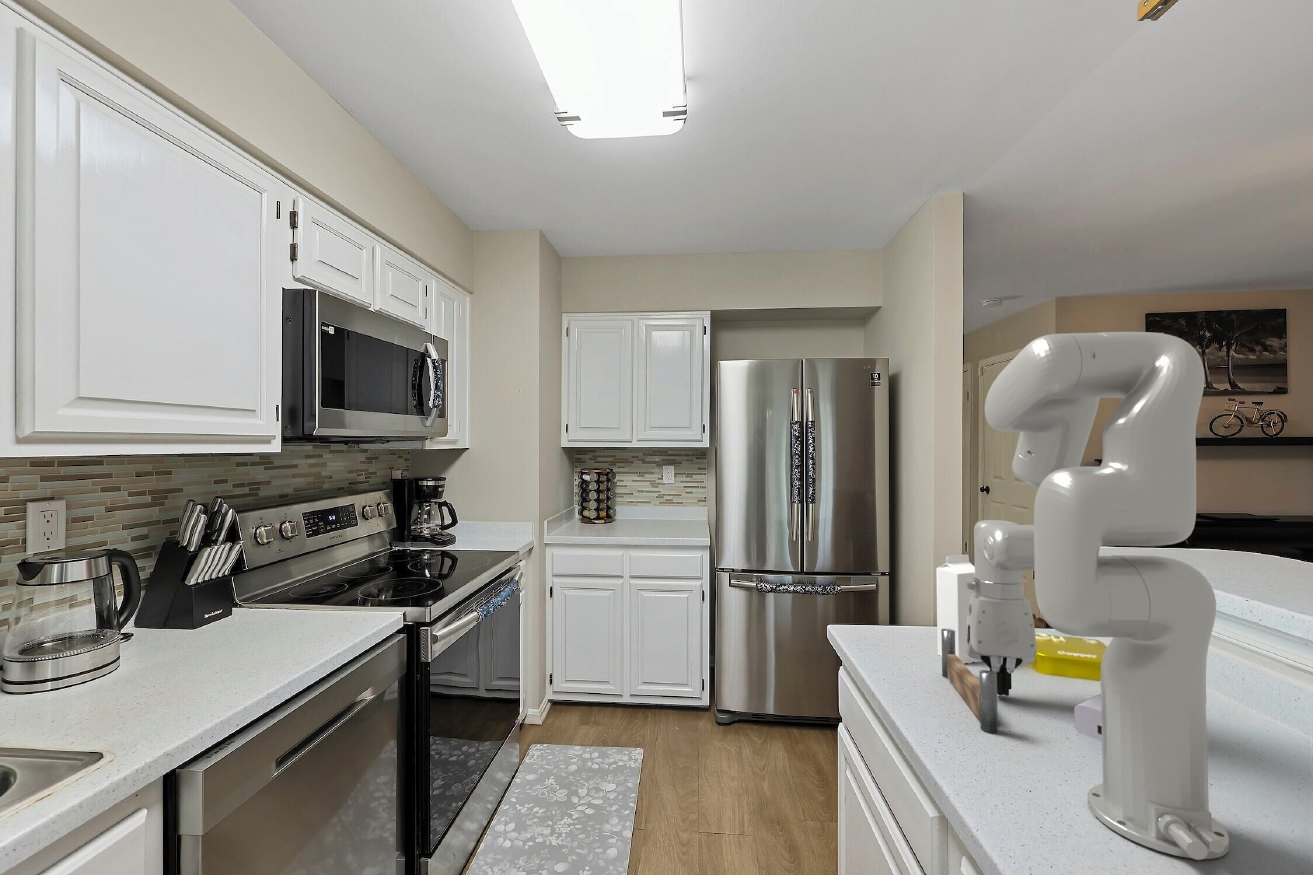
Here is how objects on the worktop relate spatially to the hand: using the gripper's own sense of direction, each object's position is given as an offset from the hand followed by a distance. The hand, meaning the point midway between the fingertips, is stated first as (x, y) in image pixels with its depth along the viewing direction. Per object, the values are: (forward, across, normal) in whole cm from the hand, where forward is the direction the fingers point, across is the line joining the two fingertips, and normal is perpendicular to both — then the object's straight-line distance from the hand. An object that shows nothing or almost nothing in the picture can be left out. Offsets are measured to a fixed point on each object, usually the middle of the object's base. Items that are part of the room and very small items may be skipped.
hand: (1000, 692), depth 102 cm
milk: (+1, -1, +20) cm, 20 cm away
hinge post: (+1, -6, -13) cm, 14 cm away
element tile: (+2, +20, +20) cm, 28 cm away
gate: (+1, -6, -2) cm, 6 cm away
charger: (+2, +16, -9) cm, 18 cm away
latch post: (+1, -6, +9) cm, 11 cm away
